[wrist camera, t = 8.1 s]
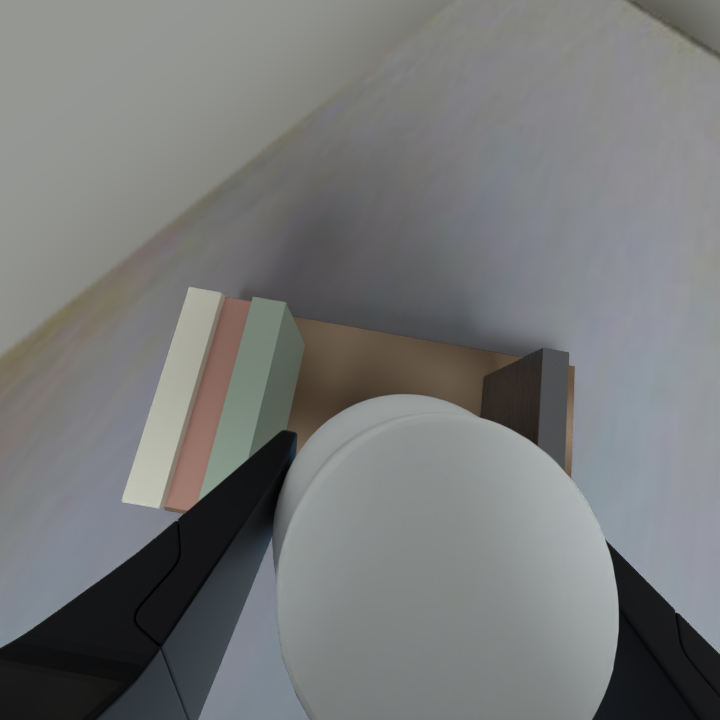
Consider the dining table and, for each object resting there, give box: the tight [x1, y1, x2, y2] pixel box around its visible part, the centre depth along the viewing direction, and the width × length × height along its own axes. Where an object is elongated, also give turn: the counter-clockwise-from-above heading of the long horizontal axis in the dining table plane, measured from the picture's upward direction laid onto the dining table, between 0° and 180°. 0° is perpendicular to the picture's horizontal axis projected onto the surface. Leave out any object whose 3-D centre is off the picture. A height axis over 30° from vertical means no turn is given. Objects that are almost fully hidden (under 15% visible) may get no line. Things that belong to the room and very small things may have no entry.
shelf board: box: [165, 316, 575, 514], centre depth 19 cm, size 11×20×2 cm, turn 80°
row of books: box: [121, 287, 305, 511], centre depth 15 cm, size 8×4×6 cm, turn 170°
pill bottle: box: [272, 394, 619, 720], centre depth 10 cm, size 6×6×11 cm
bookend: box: [480, 348, 569, 471], centre depth 15 cm, size 8×4×6 cm, turn 170°
